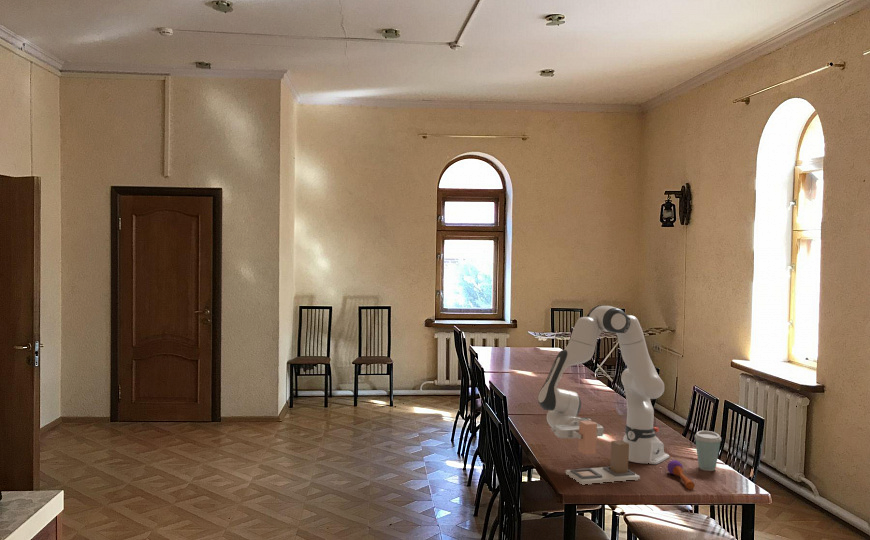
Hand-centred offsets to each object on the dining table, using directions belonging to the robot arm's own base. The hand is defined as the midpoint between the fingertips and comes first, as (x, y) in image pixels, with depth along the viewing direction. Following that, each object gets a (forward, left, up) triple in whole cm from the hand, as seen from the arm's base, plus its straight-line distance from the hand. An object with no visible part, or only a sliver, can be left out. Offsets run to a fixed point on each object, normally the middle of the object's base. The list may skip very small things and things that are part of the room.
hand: (588, 436), depth 274 cm
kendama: (-32, +22, -17) cm, 42 cm away
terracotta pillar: (0, -1, -7) cm, 7 cm away
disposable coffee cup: (-54, +19, -17) cm, 60 cm away
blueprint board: (-7, +2, -17) cm, 19 cm away
